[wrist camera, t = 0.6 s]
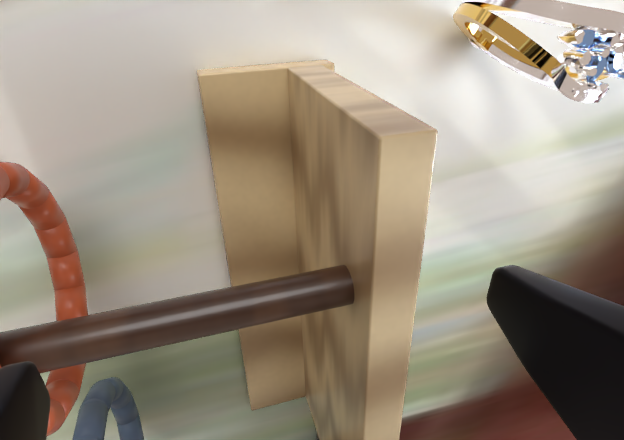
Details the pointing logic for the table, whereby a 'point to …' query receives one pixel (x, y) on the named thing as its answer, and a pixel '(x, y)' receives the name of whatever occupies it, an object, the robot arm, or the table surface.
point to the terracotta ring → (52, 273)
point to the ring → (538, 62)
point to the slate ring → (96, 410)
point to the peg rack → (293, 250)
